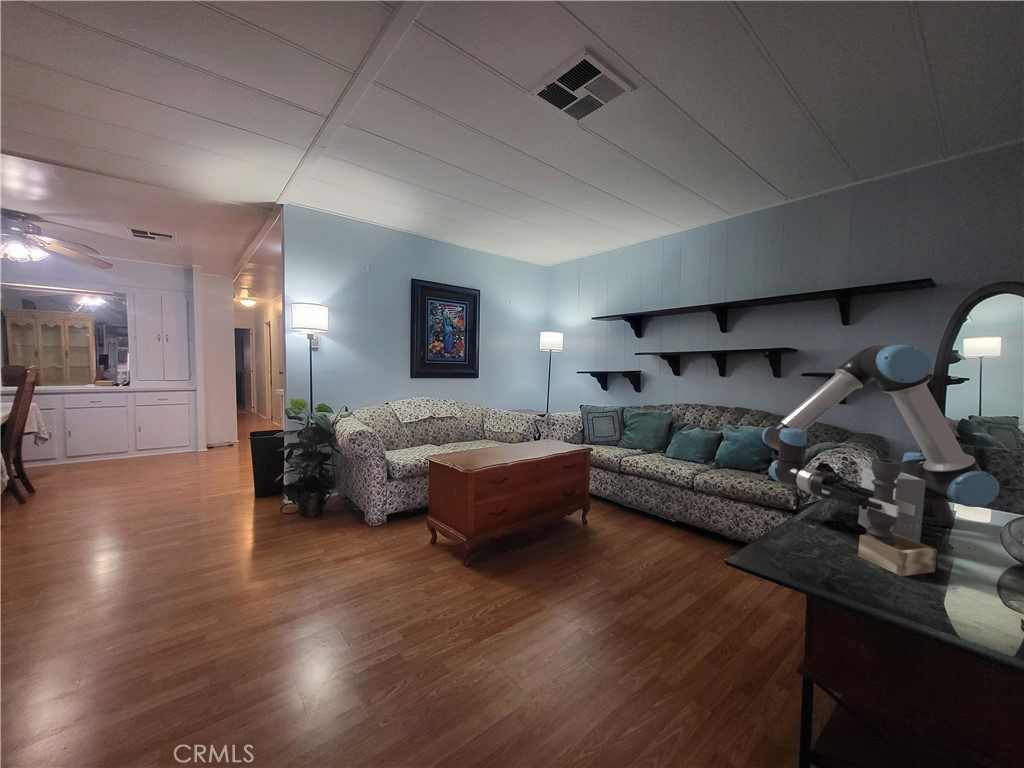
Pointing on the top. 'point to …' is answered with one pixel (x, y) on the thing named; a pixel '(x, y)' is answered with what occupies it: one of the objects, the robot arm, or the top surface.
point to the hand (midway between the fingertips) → (905, 511)
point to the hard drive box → (906, 491)
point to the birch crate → (899, 555)
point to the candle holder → (883, 500)
